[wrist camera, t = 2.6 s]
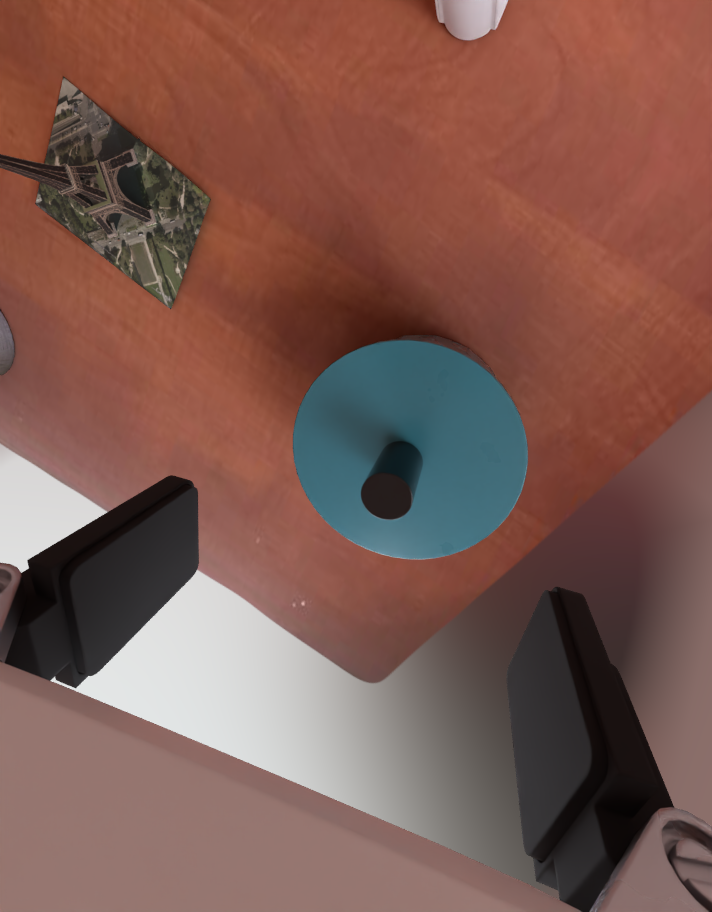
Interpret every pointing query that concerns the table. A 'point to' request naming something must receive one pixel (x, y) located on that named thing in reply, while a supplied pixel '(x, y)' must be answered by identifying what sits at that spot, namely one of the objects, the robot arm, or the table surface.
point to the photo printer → (470, 16)
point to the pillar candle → (5, 346)
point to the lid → (410, 449)
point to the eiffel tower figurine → (116, 195)
